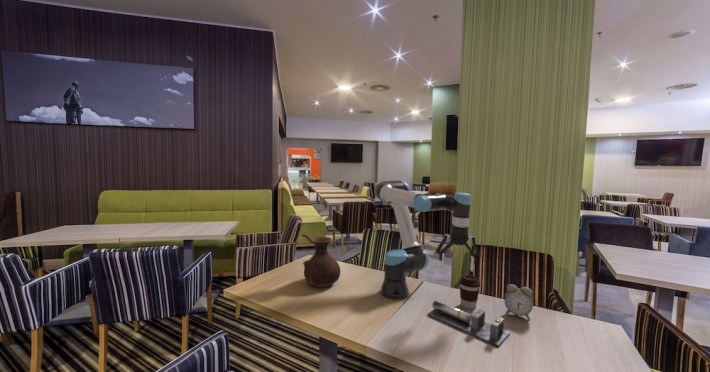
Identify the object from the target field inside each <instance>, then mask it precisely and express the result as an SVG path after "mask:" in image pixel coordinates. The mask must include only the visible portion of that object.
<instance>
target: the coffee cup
mask: <svg viewBox="0 0 710 372" xmlns="http://www.w3.org/2000/svg"><path fill="white" fill-rule="evenodd" d="M458 281H459V284H460V285H459V286H460V287H459V293H460V294H459V295H460V305H461V307H462V308H465V309H467V310H475V309H476V307H477V302H478V299H479V291H480V289H479V288H480V287H481V280H479V279H478V278H477V277H476V276H474V275H471V274H466V275H465V274H464V275H463V276H461V277H460V278H459V280H458Z"/></svg>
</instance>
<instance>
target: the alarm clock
mask: <svg viewBox="0 0 710 372" xmlns="http://www.w3.org/2000/svg"><path fill="white" fill-rule="evenodd" d="M532 295H533V291H532V289H531V288H530V287H528V286H521V287H520V288H519V287H518V286H517V285H515V284H511V283H509V284H508V285H507V286H506V292H505V294H504V305H505V308H506V309H507V310H506V311H505V315H509V314H510V313H511V314H513V315H516V316H520V317H521V316H525V318H526V319H527V320H528V321H530V316H529V314H530V313H531V312H532V311H533V308H534V303H533V298H532Z"/></svg>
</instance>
